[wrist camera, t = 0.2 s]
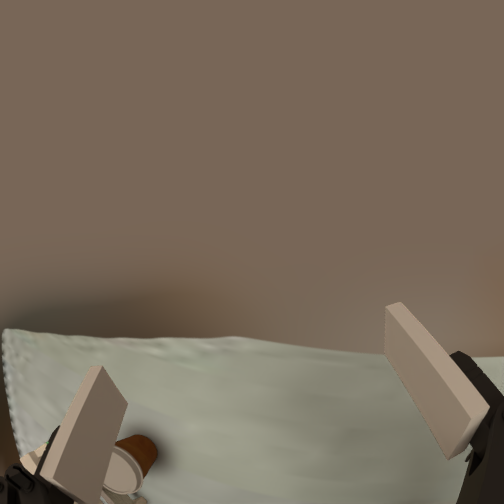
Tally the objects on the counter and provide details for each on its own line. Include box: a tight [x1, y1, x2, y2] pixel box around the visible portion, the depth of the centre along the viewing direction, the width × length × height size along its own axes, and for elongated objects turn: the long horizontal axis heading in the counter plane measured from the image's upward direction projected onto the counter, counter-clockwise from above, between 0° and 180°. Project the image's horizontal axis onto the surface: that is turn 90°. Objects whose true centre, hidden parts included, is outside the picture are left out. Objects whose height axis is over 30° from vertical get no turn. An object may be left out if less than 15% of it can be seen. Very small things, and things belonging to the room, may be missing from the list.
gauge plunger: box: [101, 486, 134, 504], centre depth 35 cm, size 18×5×6 cm, turn 39°
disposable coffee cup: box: [103, 435, 157, 494], centre depth 36 cm, size 10×10×12 cm
